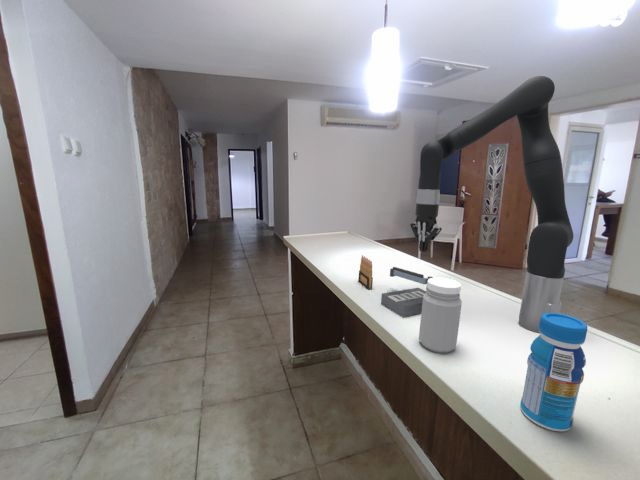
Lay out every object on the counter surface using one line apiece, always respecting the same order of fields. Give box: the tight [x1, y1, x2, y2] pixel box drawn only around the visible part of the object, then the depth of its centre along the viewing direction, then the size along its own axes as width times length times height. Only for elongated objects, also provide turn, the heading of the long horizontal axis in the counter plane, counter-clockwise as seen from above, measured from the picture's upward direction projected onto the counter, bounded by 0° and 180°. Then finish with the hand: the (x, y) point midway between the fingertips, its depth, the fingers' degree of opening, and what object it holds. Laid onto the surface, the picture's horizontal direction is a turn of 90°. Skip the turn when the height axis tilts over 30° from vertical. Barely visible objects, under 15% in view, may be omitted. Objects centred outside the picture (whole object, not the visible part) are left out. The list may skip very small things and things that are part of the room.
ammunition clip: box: [357, 255, 374, 291], centre depth 130 cm, size 11×2×12 cm, turn 15°
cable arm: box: [389, 266, 428, 285], centre depth 119 cm, size 2×15×4 cm, turn 41°
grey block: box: [380, 275, 434, 319], centre depth 109 cm, size 12×18×10 cm
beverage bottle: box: [519, 313, 588, 432], centre depth 58 cm, size 8×8×20 cm
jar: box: [418, 276, 463, 354], centre depth 83 cm, size 10×10×18 cm
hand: (423, 251), depth 112 cm, fingers closed
